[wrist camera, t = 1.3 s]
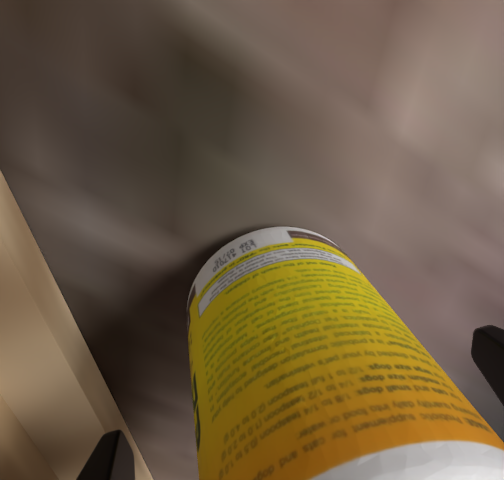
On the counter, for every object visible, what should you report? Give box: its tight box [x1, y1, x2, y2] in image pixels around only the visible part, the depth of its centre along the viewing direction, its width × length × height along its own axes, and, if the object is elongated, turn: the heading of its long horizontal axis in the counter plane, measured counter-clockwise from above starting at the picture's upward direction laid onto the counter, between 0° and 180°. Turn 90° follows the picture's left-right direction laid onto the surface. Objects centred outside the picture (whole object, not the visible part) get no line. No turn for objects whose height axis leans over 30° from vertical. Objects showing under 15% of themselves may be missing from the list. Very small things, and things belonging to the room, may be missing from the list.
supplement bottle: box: [187, 227, 504, 480], centre depth 9 cm, size 6×6×10 cm
